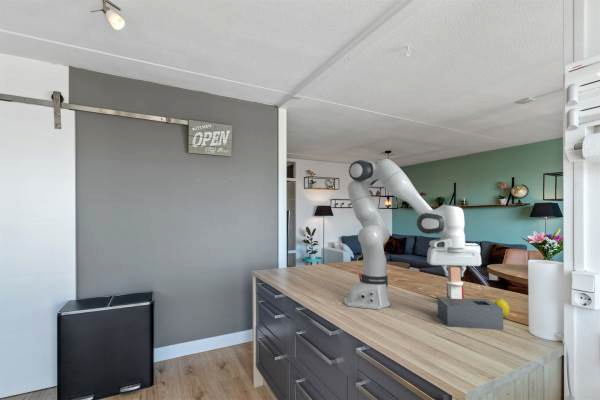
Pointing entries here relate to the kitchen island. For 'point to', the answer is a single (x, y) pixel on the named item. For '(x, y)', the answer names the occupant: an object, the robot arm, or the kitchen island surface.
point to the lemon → (503, 305)
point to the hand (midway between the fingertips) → (454, 276)
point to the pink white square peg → (454, 283)
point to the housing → (470, 313)
